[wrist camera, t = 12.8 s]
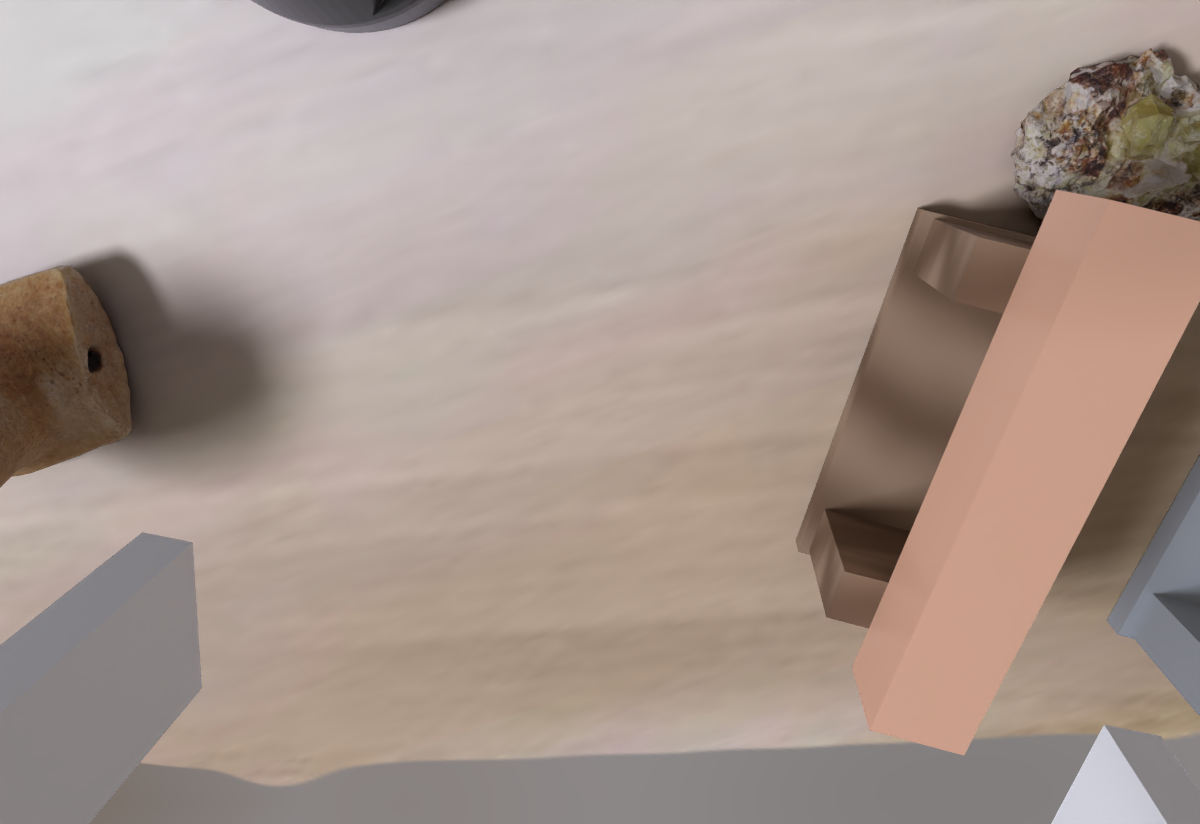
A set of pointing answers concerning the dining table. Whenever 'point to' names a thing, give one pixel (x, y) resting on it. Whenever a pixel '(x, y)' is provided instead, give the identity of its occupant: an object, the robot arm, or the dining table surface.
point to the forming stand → (1169, 595)
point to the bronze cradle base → (906, 404)
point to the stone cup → (57, 373)
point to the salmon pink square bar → (1027, 461)
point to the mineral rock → (1115, 138)
